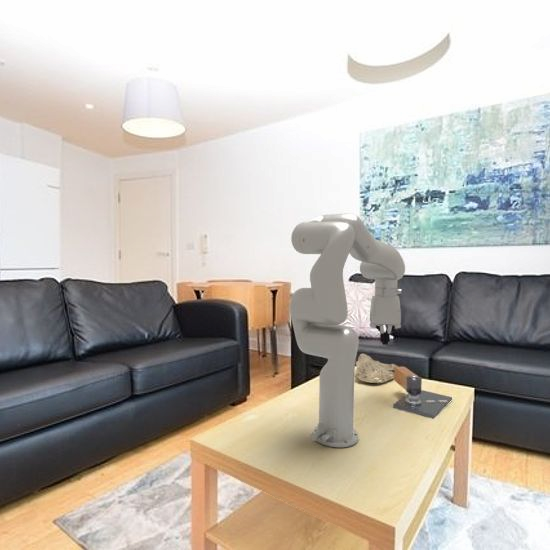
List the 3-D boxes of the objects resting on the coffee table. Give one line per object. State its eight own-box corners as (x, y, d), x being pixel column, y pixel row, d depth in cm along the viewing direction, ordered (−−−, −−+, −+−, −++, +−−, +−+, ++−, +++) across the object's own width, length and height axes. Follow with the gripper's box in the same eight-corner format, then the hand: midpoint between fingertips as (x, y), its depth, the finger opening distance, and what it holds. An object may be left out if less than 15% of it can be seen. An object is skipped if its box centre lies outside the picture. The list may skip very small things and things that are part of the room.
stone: (368, 344, 178) (401, 345, 170) (371, 364, 180) (403, 366, 172) (347, 372, 153) (384, 374, 146) (350, 395, 155) (387, 399, 147)
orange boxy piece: (423, 394, 128) (424, 377, 127) (409, 394, 127) (410, 378, 127) (405, 379, 142) (405, 364, 142) (392, 379, 142) (393, 365, 142)
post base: (434, 418, 120) (434, 404, 120) (393, 407, 128) (393, 394, 128) (453, 400, 135) (453, 388, 135) (415, 391, 144) (415, 379, 143)
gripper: (405, 291, 137) (403, 342, 138) (362, 291, 139) (361, 341, 140) (410, 294, 130) (409, 347, 131) (365, 293, 131) (364, 346, 132)
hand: (384, 343), depth 135 cm, fingers closed
